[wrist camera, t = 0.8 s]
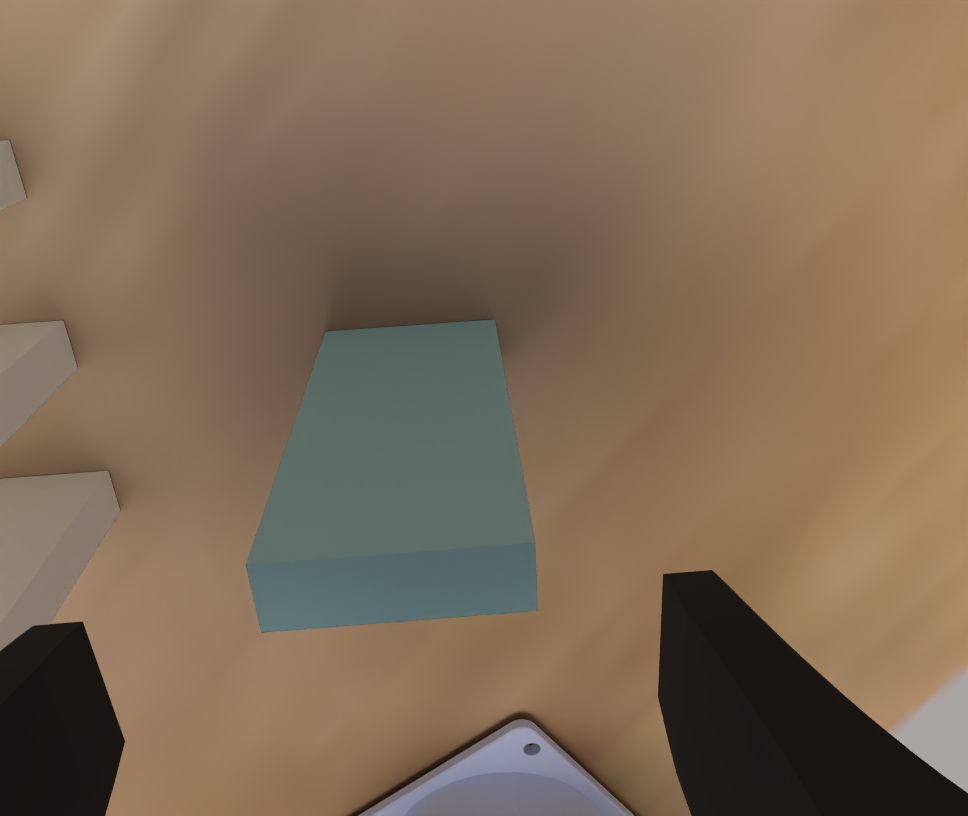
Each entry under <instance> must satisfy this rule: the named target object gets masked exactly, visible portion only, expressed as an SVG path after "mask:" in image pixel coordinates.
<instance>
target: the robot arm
mask: <svg viewBox="0 0 968 816" xmlns="http://www.w3.org/2000/svg"><path fill="white" fill-rule="evenodd" d="M658 698H659V703H660V707H661V711H662V715H663V720H664V724H665V728H666V732H667V737H668V741H669V745H670V749H671V753H672V757H673V761H674V765H675V769H676V773H677V776H678V779H679V782H680V785H681V787H682V790H683V793H684V796H685V799H686V801H687V804H688V807H689V810H690V812H691V815H692V816H968V793H967V792H965V791H964V790H963V789H961V788H960V787H958V786H957V785H956V784H954V783H953V782H951V781H950V780H949V779H947V778H946V777H944V776H943V775H942V774H940V773H939V772H938V771H936V770H935V769H934V768H932V767H931V766H929V765H928V764H927V763H926V762H924V761H923V760H922V759H921V758H919V757H918V756H917V755H915V754H914V753H913V752H911V751H910V750H909V749H908V748H906V747H905V746H904V745H903V744H902V743H900V742H899V741H898V740H897V739H895V738H894V737H893V736H892V735H891V734H889V733H888V732H887V731H886V730H884V729H883V728H882V727H881V726H880V725H878V724H877V723H876V722H875V721H873V720H872V719H871V718H870V717H869V716H868V715H866V714H865V713H864V712H863V711H862V710H861V709H859V708H858V707H857V706H856V705H855V704H854V703H852V702H851V701H850V700H849V699H848V698H847V697H845V696H844V695H843V694H842V693H841V692H840V691H839V690H838V689H837V688H835V687H834V686H833V685H832V684H831V683H830V682H829V681H828V680H827V679H825V678H824V677H823V676H822V675H821V674H820V673H819V672H818V671H817V670H815V669H814V668H813V667H812V666H811V665H810V664H809V663H808V662H807V661H805V660H804V659H803V658H802V657H801V656H800V655H799V654H798V653H797V652H796V651H795V650H794V649H793V648H792V647H790V646H789V645H788V644H787V643H786V642H785V641H784V640H783V639H782V638H781V637H780V636H779V635H778V634H777V633H776V632H775V631H774V630H773V629H772V628H771V627H770V626H769V625H768V624H767V623H766V622H765V621H763V620H762V619H761V618H760V617H759V616H758V615H757V614H756V613H755V612H754V611H753V610H752V609H751V608H750V607H749V606H748V605H747V604H746V603H745V602H744V601H743V600H742V599H741V598H740V597H739V596H738V595H737V594H736V593H735V592H734V591H733V590H732V589H731V588H730V587H729V586H728V585H727V584H726V583H725V582H724V581H723V580H722V579H721V578H720V577H719V576H718V575H717V574H716V573H714V572H713V571H712V570H708V571H696V572H684V573H671V574H663V591H662V615H661V638H660V662H659V686H658ZM124 743H125V740H124V737H123V735H122V732H121V729H120V726H119V723H118V720H117V718H116V715H115V712H114V709H113V706H112V703H111V701H110V698H109V695H108V692H107V689H106V686H105V684H104V681H103V678H102V675H101V672H100V669H99V667H98V664H97V661H96V658H95V655H94V652H93V650H92V647H91V644H90V641H89V638H88V635H87V633H86V630H85V627H84V624H83V622H72V623H60V624H47V625H35V626H32V627H31V628H29V629H28V630H27V631H25V632H24V633H23V634H21V635H20V636H19V637H17V638H16V639H15V640H13V641H12V642H11V643H10V644H8V645H7V646H6V647H5V648H3V649H2V650H1V651H0V816H105V814H106V810H107V807H108V803H109V800H110V797H111V793H112V790H113V786H114V782H115V778H116V774H117V771H118V767H119V763H120V759H121V755H122V751H123V747H124ZM530 743H536V744H533V745H527V744H530ZM358 816H634V815H633V814H632V813H631V812H630V811H629V810H628V809H627V808H626V807H625V806H623V805H622V804H621V803H620V802H619V801H618V800H617V799H616V798H615V797H614V796H613V795H612V794H610V793H609V792H608V791H607V790H606V789H605V788H604V787H603V786H602V785H601V784H600V783H598V782H597V781H596V780H595V779H594V778H593V777H592V776H591V775H590V774H589V773H588V772H587V771H585V770H584V769H583V768H582V767H581V766H580V765H579V764H578V763H577V762H576V761H575V760H573V759H572V758H571V757H570V756H569V755H568V754H567V753H566V752H565V751H564V750H563V749H561V748H560V747H559V746H558V745H557V744H556V743H555V742H554V741H553V740H552V739H551V738H550V737H548V736H547V735H546V734H545V733H544V732H543V731H542V730H541V729H540V728H539V727H538V726H536V725H535V724H534V723H533V722H531V721H529V720H525V719H519V720H515V721H513V722H510V723H509V724H507V725H506V726H504V727H502V728H501V729H499V730H497V731H496V732H494V733H492V734H491V735H489V736H488V737H486V738H484V739H483V740H481V741H479V742H478V743H476V744H474V745H473V746H471V747H470V748H468V749H466V750H465V751H463V752H461V753H460V754H458V755H456V756H455V757H453V758H452V759H450V760H448V761H447V762H445V763H443V764H442V765H440V766H438V767H437V768H435V769H434V770H432V771H430V772H429V773H427V774H425V775H424V776H422V777H420V778H419V779H417V780H416V781H414V782H412V783H411V784H409V785H407V786H406V787H404V788H402V789H401V790H399V791H398V792H396V793H394V794H393V795H391V796H389V797H388V798H386V799H384V800H383V801H381V802H380V803H378V804H376V805H375V806H373V807H371V808H370V809H368V810H366V811H365V812H363V813H362V814H360V815H358Z"/></svg>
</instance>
